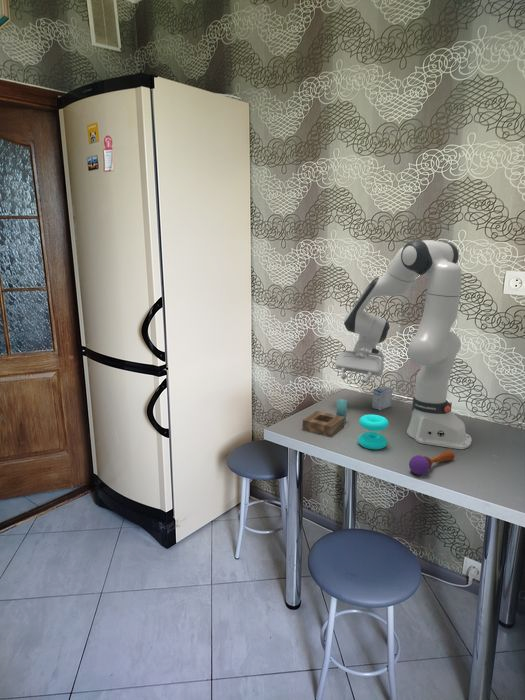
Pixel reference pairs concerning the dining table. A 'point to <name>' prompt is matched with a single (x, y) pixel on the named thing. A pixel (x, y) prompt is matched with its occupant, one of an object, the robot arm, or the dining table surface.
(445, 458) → the kendama
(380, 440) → the donuts
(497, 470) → the dining table surface
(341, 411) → the teal rounded cylinder
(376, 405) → the medicine box
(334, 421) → the brown square frame block
